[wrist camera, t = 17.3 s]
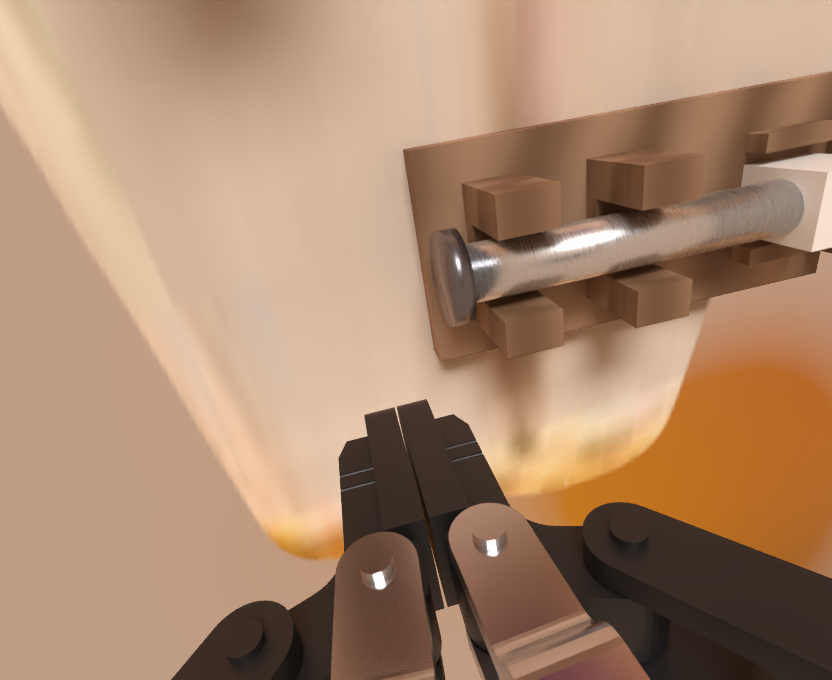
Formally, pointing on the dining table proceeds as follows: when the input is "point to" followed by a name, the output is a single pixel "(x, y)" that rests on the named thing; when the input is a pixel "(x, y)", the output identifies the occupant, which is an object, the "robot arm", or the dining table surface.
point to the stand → (612, 204)
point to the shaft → (606, 245)
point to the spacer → (822, 191)
